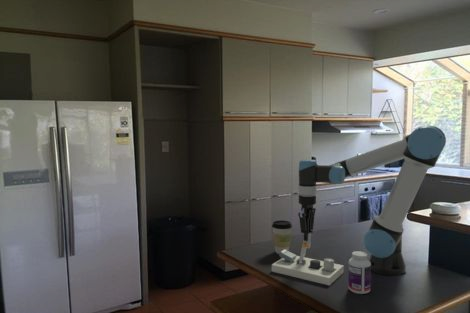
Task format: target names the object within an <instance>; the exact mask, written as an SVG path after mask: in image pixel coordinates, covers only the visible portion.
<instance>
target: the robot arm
mask: <svg viewBox="0 0 470 313" xmlns="http://www.w3.org/2000/svg"><path fill="white" fill-rule="evenodd" d="M446 138H447V137H446V134H445V133H444V132H443V130H442V129H441V128H439V127H437V126H436V125H435V126H434V125H421V126H419V127H417V128H415V129H414V130H413V131H412V132H411V133H410V134H407V135H405V136H404V137H403V139H401V140H397V141H394V142H391V143H389V144H386V145H384V146H380V147H378V148H375V149H372V150H370V151H366V152H364V153H361V154H357V155H355V156H353V157H349V158H347V159H343V160H341V161H337V162H335V163H332V164H329V165H326V164H325V165H323V164H321V165H320V164H317V161H316V160H315V159H301V160H300V161H299V162H298V163H299V164H298V187H297V188H298V194H299V195H298V204H299V205H301V209H300V212H298V214H297V215H298V218H299V225H300V228H299V229H300V233H301V234H303V243H307V244H308V247H307V249H310V248H311V247H312V246H311V244H312V243H311V241H312V240H311V239H312V237H311V233H312V234H313V233H314V226H315V215H316V210H317V209H316V207H314V205H316V204H317V196H316V195H317V183H322V184H323V183H324V184H332V185H341V184H343V183H344V181H345V180H346V178H349V177H351V176H354V175H358V174H360V173H363V172H367V171H369V170H372V169H376V168H380V167H382V166H385V165H388V164H391V163H394V162H398V161H400V160H403V159H404V162H403V163H402V166H401V168H400V170H399V172H398V174H397V177H396V179H395V181H394V183H393V186H392V187H391V190H390V192H389V195H388V197H387V198H386V201H385V203H384V206H383V208H382V209H381V212H380V214H378V215H374V216H373V217H372V222H371V224H370V226H369V229H368V230H367V232H366V233H365V235H364V236H363V245H364V247H365V248H364V249H366V251H367V252H368V254H370V255H369V257H368V258H369V259H368V260H369V261H370V262H371V272H374V273H377V274H380V275H385V276H400V275H404V274H405V273H406V266H407V265H406V262H405V260H404V257H403V253H402V247H403V241H402V240H403V233H404V231H405V230H404V227H403V226H404V225H403V224H404V221H405V219H406V217H407V214H408V213H409V211H410V209H411V206H412V204H413V202H414V199H415V198H416V195H417V193H418V191H419V189H420V187H421V185H422V183H423V181H424V179H425V177H426V174H427V172H428V170H430V169H432V168H435V166H436V164H437V161H438V159H439V158H440V155H441V154H442V152H443V150H444V148H445V146H446V142H447V139H446Z"/></svg>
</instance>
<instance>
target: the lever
mask: <svg viewBox="0 0 470 313" xmlns="http://www.w3.org/2000/svg"><path fill="white" fill-rule="evenodd" d="M307 247H308V244H307V243H304V242H302V244H301V250H300V255H299V256H300V258H299V262H302V261H303V260H304V258H305V256H306V252H307V249H308V248H307Z"/></svg>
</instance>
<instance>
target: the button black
mask: <svg viewBox="0 0 470 313" xmlns="http://www.w3.org/2000/svg"><path fill="white" fill-rule="evenodd" d="M318 260H319V259H315V260H311V261H310V268H312V269H317V270H319V269H320V261H321V260H320V261H318Z"/></svg>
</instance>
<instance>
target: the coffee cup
mask: <svg viewBox="0 0 470 313" xmlns="http://www.w3.org/2000/svg"><path fill="white" fill-rule="evenodd" d="M292 227H293V225H292V223H291V222H290V221H288V220H284V219H283V220H274V221H273V222H272V225H271V228H272V231H273V232H272V235H273V241H274V250H275V254H277V255H279V254H280V252H281V251H283V250H284V249H285V250H287V251H289V252H290V250H289V248H290V244H291V236H292V235H291V234H292V233H291V230H292Z"/></svg>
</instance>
